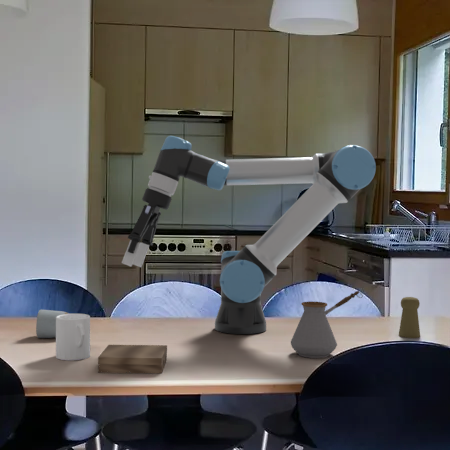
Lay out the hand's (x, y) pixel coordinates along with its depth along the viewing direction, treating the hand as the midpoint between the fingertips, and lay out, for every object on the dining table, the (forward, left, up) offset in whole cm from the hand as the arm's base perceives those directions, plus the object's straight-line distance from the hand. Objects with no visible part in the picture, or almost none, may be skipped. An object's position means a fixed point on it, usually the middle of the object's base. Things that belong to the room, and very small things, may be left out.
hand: (131, 265), depth 188 cm
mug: (+10, +22, -21) cm, 32 cm away
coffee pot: (-52, +12, -21) cm, 57 cm away
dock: (-5, +29, -20) cm, 36 cm away
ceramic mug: (+22, -3, -21) cm, 30 cm away
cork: (-78, -10, -20) cm, 81 cm away
